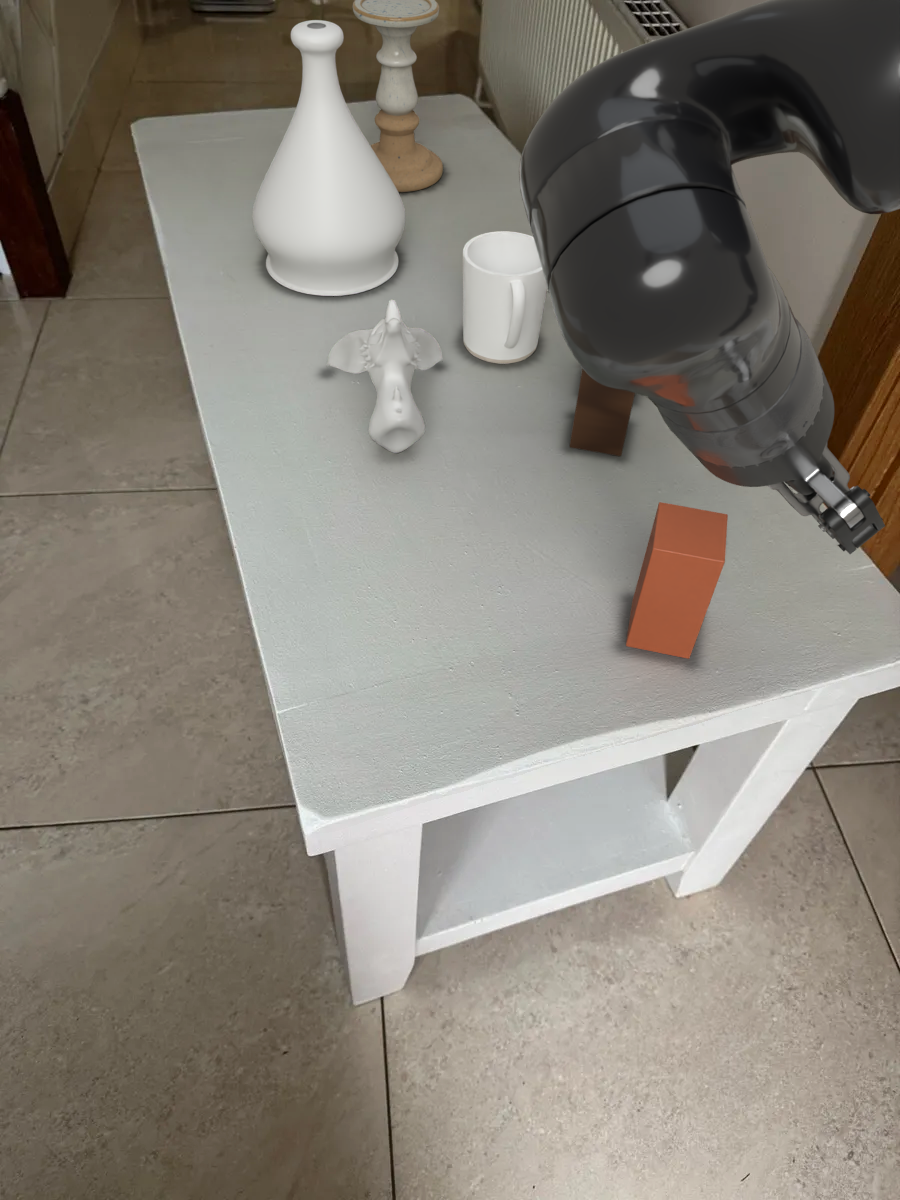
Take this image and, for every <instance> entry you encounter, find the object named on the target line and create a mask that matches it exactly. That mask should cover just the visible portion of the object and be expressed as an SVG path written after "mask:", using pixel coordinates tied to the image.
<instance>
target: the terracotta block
mask: <svg viewBox="0 0 900 1200" xmlns="http://www.w3.org/2000/svg"><path fill="white" fill-rule="evenodd" d="M728 516H729V515H728V514H727V513H723V512H717V511H711V510H706V509H701V508H694V507H689V506H684V505H679V504H673V503H668V502H662V501H659V502H658V505H657V508H656V513H655V516H654V519H653V523H652V526H651V530H650V534H649V538H648V542H647V545H646V550H645V552H644V556H643V560H642V563H641V567H640V570H639V575H638V578H637V582H636V586H635V589H634V592H633V596H632V599H631V600H632V601H631V605H630V606H631V607H630V612H629V621H628V627H627V634H626V641H625V646H626V647H629V648H633V649H639V650H643V651H649V652H653V653H658V654H663V655H668V656H673V657H677V658H683V659H687V660H690V658H691V656H692V653H693V650H694V648H695V645H696V642H697V639H698V636H699V634H700V631H701V629H702V626H703V623H704V620H705V618H706V615H707V612H708V609H709V607H710V604H711V601H712V598H713V595H714V593H715V591H716V588H717V585H718V583H719V579H720V576H721V574H722V572H723V569H724V566H725V563H726V553H727V551H726V550H727V537H728V536H727V533H728V519H729V517H728Z"/></svg>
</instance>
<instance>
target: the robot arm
mask: <svg viewBox="0 0 900 1200" xmlns="http://www.w3.org/2000/svg"><path fill="white" fill-rule="evenodd" d="M786 153H787V154H788V153H799V154H802V155H804V156H805V157H807V158H808V159H809V160H811V161H812V162H813V163H814V165H815V166H816V167H817V168H818V169H819V171H820V172H821V173H822V175H823V176H824V177H825V179H826V180H827V182H829V184H830V185H831V186H832V188H833V189H834V190H835V191H836V193H837V194H838V195H839V196H840V197H841V198H842V200H844V201H845V202H846V203H847V204H848V206H850V207H852V208H853V209H854V210H857V212H861V213H864V214H868V215H882V214H887V213H891V212H894V211H897V210H900V0H764V1H761V2H759V3H756V4H752V5H750V6H747V7H744V8H742V9H739V10H737V11H734V12H731V13H729V14H726V15H723V16H720V17H717V18H715V19H711V20H709V21H706V22H703V23H700V24H697V25H695V26H694V25H693V26H691V27H689V28H686V29H683V30H679V31H677V32H674V33H671V34H668V35H665V36H662V37H660V38H657V39H654V40H651V41H649V42H645V43H643V44H640V45H637V46H635V47H632V48H629V49H628V50H625V51H623V52H620V53H618V54H615V55H613V56H611V57H608V58H607V59H605V60H604V61H602V62H600V63H598V64H597V65H594V66H593V67H590V68H589V69H588V70H587V71H585V72H583V73H582V74H581V75H579V76H578V77H576V78H575V79H574V80H572V82H570V83H569V84H568V85H567V86H566V87H565V88H564V89H563V90H562V91H561V92H560V93H559V94H557V96H556V97H554V98H553V99H552V101H551V102H550V103H549V105H548V106H547V107H546V108H545V110H544V111H543V113H542V114H541V115H540V116H539V117H538V119H537V121H536V123H535V124H534V126H533V127H532V129H531V131H530V132H529V134H528V136H527V139H526V140H525V144H524V146H523V148H522V152H521V154H520V159H519V167H518V179H519V181H518V182H519V190H520V191H519V192H520V196H521V198H522V203H523V208H524V211H525V214H526V217H527V222H528V225H529V228H530V231H531V234H532V236H533V237H534V241H535V244H536V248H537V252H538V255H539V259H540V263H541V266H542V270H543V273H544V277H545V281H546V284H547V291H548V294H549V298H550V302H551V305H552V306H551V307H552V309H553V313H554V316H555V319H556V322H557V325H558V328H559V331H560V333H561V335H562V339H563V340H564V342H565V344H566V346H567V348H568V350H569V351H570V352H571V354H572V356H573V357H574V359H575V360H576V362H577V363H578V364H579V366H580V367H581V369H582V368H583V369H584V371H585V372H586V373H587V374H588V375H589V376H590V377H591V378H592V379H594V380H595V381H597V382H598V383H600V384H601V385H604V386H606V387H609V388H614V389H619V390H623V391H628V392H632V393H635V395H639V396H642V397H646V398H648V399H649V400H650V402H652V404H653V405H654V406H655V407H656V408H657V410H658V412H659V414H660V415H661V418H662V420H663V422H664V423H665V424H666V427H667V428H668V429H669V431H671V433H672V434H673V435H674V436H675V437H676V438H677V439H678V440H679V442H681V443H682V445H684V447H685V448H686V449H687V450H688V451H689V452H690V453H691V454H692V455H693V457H695V458H696V459H697V461H699V463H700V464H701V465H702V466H703V467H704V469H706V470H707V471H708V472H709V473H711V474H712V475H713V476H715V477H716V478H717V479H719V480H722V481H724V482H726V483H729V484H732V485H735V486H738V487H739V486H740V487H746V488H758V487H759V488H761V487H769V489H771V490H775V491H777V492H778V493H779V495H781V496H782V497H783V498H784V500H785V501H786V502H787V503H788V504H789V505H790V506H791V507H792V509H793V510H795V511H796V512H797V513H798V514H799V515H800V516H802V517H809V516H812V518H813V519H814V520H815V521H816V522H817V523H818V525H817V526H818V528H819V529H820V530H821V531H822V532H824V533H826V534H827V535H828V536H829V537H830V538H831V539H832V540H834V539H835V541H836V542H837V543H838V544H837V546H838V547H839V549H840V550H841V551H842V552H847V553H848V554H849V555H852V554H853V553H854V552H855V551H857V549H859V548H860V547H862V546H863V545H864V544H865V543H867V542H868V541H869V540H870V539H871V538H872V537H874V536H875V535H876V534H877V533H879V532H881V530H882V529H884V528H885V527H886V525H885V523H884V521H883V520H884V519H883V518H882V517H881V515H880V513H879V511H878V509H877V507H876V505H875V503H874V501H873V499H872V498H871V496H872V495H871V493H870V492H868V490H867V489H866V488H861V487H860V486H859V485H855V486H852V487H851V488H849V486H848V483H849V482H850V479H851V475H850V473H849V472H848V471H847V469H846V468H845V466H843V464H841V462H840V461H839V460H838V459H837V457H836V456H835V455H834V454H833V453H832V452H831V450H830V449H829V448H828V442H829V438H830V436H831V432H832V429H833V424H834V419H835V401H834V396H833V393H832V390H831V387H830V385H829V382H828V380H827V377H826V374H825V372H824V369H823V368H822V365H821V362H820V360H819V357H818V354H817V353H816V350H815V347H814V345H813V343H812V341H811V338H810V337H809V335H808V333H807V330H806V329H805V328H804V326H803V325H802V324H801V322H800V321H799V320H798V319H797V318H796V317H795V314H794V312H793V310H792V308H791V305H790V303H789V301H788V298H787V296H786V294H785V291H784V289H783V286H782V285H781V283H780V282H779V280H778V278H777V277H776V275H775V274H774V272H773V271H772V269H771V268H770V267H769V265H768V261H767V259H766V256H765V252H764V250H763V247H762V244H761V242H760V239H759V236H758V233H757V231H756V228H755V225H754V222H753V219H752V217H751V214H750V211H749V209H748V208H747V204H746V202H745V199H744V196H743V193H742V190H741V188H740V185H739V183H738V180H737V177H736V174H735V171H734V168H733V165H735V164H738V163H739V162H743V161H746V160H750V159H754V158H759V157H766V156H770V155H771V156H772V155H777V154H786ZM790 488H791V489H790ZM792 490H794V491H795V492H796V493H794V492H793V491H792ZM823 503H824V504H825V505H826V506H827V508H826V509H825V510H824V511H821V506H822V504H823Z"/></svg>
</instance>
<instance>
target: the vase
mask: <svg viewBox="0 0 900 1200" xmlns="http://www.w3.org/2000/svg"><path fill="white" fill-rule="evenodd" d="M290 41H291V43H292V44H293V46H294V47H295V48H296V49H298V50H299V52H300V55H301V62H302V64H301V65H302V75H301V76H302V77H301V88H300V93H299V98H298V101H297V104H296V107H295V110H294V113H293V115H292V117H291V120H290V122H289V124H288V126H287V129H286V131H285V133H284V135H283V138H282V140H281V142H280V144H279V146H278V148H277V150H276V152H275V154H274V156H273V158H272V161H271V163H270V164H269V166H268V169H267V171H266V173H265V175H264V177H263V179H262V182H261V184H260V186H259V188H258V191H257V193H256V195H255V198H254V202H253V206H252V212H251V213H252V214H251V215H252V217H251V219H252V220H251V221H252V226H253V229H254V232H255V235H256V236H257V239H258V240H259V242H260V244H261V245H262V247H263V248H264V249H265V251H266V252H267V256H266V259H265V268H266V270H267V273H268V274H269V276H271V277H272V279H273V280H274V281H276V282H277V284H280V285H282V286H283V287H285V288H287V289H289V290H292V291H295V292H298V293H302V294H307V295H313V296H322V297H333V296H334V297H341V296H348V295H354V294H359V293H363V292H367V291H369V290H372V289H375V288H377V287H379V286H381V285H383V284H384V283H385V282H387V281H388V280H390V278H391V277H393V275H394V274H395V273H396V271H397V270H398V267H399V255H398V253H397V252H396V248H397V246H398V244H399V242H400V240H401V238H402V236H403V234H404V230H405V227H406V217H407V215H406V209H405V205H404V202H403V199H402V197H401V195H400V192H398V191H397V189H396V187H395V185H394V183H393V182H392V180H391V178H390V177H389V175H388V173H387V172H386V170H385V168H384V167H383V165H382V164H381V162H380V160H379V159H378V157H377V156H376V154H375V152H374V151H373V149H372V148H371V144H370V142H369V141H368V139H367V138H366V136H365V134H364V132H362V129H361V128H360V126H359V124H358V123H357V121H356V120H355V118H354V116H353V114H352V112H351V110H350V108H349V106H348V104H347V102H346V100H345V97H344V95H343V93H342V88H341V86H340V82H339V76H338V71H337V64H336V62H337V61H336V54H337V50H338V49H339V48H340V47H341V46H342V44H343V43H344V32H343V29H342V28H341V27H340V26H339V25H338V24H336V23H334V22H331V21H327V20H324V19H323V20H321V19H312V20H311V19H310V20H305V21H302V22H299V23H297V24H295V25H294V26H293V27H292V28H291V31H290Z"/></svg>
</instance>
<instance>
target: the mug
mask: <svg viewBox="0 0 900 1200" xmlns="http://www.w3.org/2000/svg"><path fill="white" fill-rule="evenodd" d="M547 291H548V288H547V284H546V281H545V277H544V273H543V270H542V266H541V263H540V259H539V255H538V252H537V248H536V244H535V241H534V237H533V235H529V234H527V233H523V232H516V231H508V230H507V231H506V230H498V231H490V232H489V231H488V232H485V233H481V234H478V235H476V236H474V237H472V238H470V239H469V240H468V241H467V242H466V243H465V244H464V247H463V249H462V334H463V336H462V340H463V341H462V342H463V345H464V347H465V349H466V351H468V353H470V354H471V355H472V356H474V357H475V358H476V359H479V360H481V361H484V362H487V363H491V364H497V365H498V364H500V365H502V364H503V365H504V364H505V365H509V364H515V363H519V362H522V361H525V360H526V359H528V358H529V357H531V356H532V355H533V353H534V352H535V351H536V350H537V347H538V343H539V339H540V338H539V337H540V333H541V326H542V321H543V314H544V309H545V303H546V299H547V297H546V296H547Z"/></svg>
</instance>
